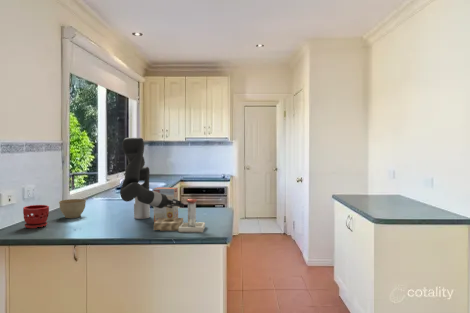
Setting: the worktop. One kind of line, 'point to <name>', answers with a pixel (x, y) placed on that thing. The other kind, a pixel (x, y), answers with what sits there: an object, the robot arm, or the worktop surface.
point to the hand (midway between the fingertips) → (177, 206)
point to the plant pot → (36, 215)
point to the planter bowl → (72, 207)
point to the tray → (198, 228)
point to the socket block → (168, 223)
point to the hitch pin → (191, 212)
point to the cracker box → (165, 211)
